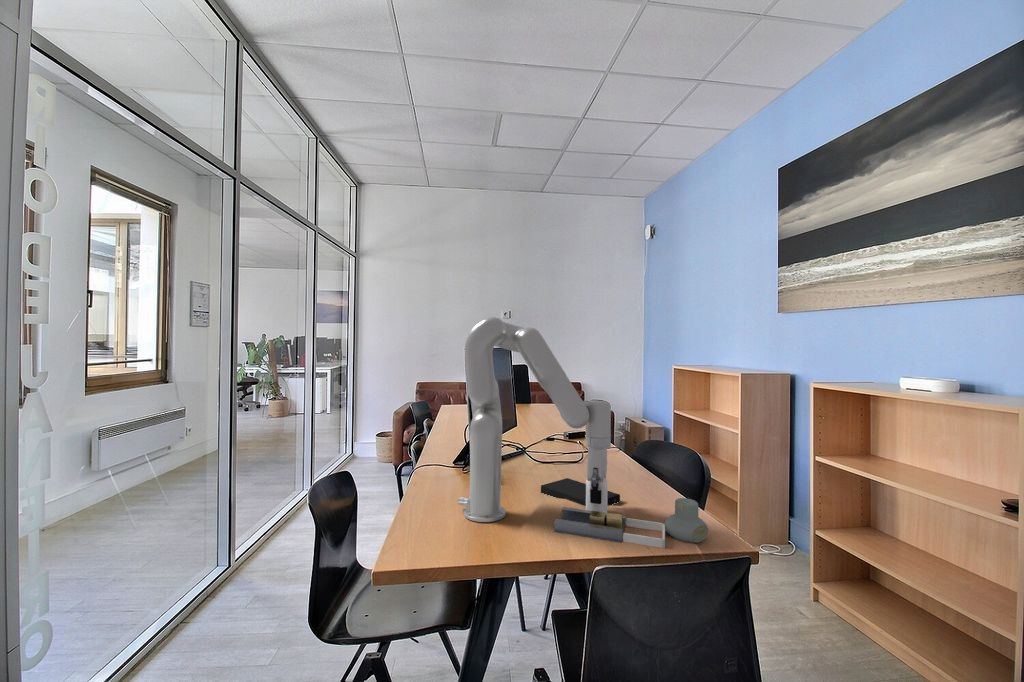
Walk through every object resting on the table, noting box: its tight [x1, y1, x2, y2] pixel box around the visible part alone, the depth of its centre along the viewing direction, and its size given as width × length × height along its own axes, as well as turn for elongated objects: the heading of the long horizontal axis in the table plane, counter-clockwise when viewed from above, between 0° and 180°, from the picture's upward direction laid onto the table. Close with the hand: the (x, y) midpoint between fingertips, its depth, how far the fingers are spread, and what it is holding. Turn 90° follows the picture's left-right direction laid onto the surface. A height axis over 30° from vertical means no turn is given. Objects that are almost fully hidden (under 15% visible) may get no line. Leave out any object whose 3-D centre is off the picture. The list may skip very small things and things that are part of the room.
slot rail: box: [553, 506, 627, 544], centre depth 119 cm, size 18×13×4 cm
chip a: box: [590, 511, 606, 526], centre depth 119 cm, size 4×4×4 cm
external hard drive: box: [540, 477, 621, 507], centre depth 147 cm, size 14×23×3 cm, turn 41°
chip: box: [606, 512, 622, 529], centre depth 117 cm, size 4×4×4 cm
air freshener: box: [664, 497, 709, 544], centre depth 116 cm, size 11×8×10 cm
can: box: [585, 475, 609, 513], centre depth 131 cm, size 6×6×12 cm
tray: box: [622, 517, 666, 549], centre depth 115 cm, size 10×11×3 cm
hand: (598, 497), depth 131 cm, fingers open, 9 cm apart
